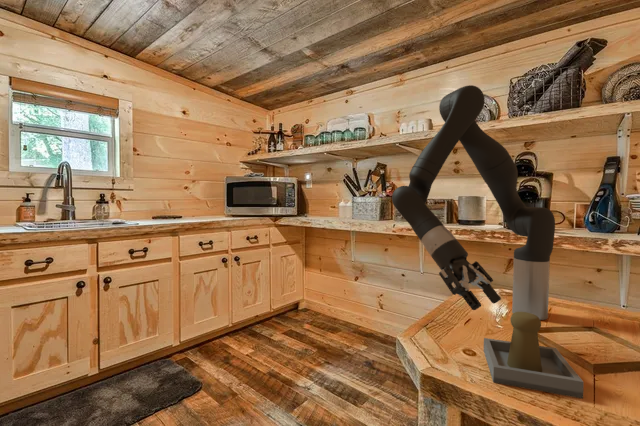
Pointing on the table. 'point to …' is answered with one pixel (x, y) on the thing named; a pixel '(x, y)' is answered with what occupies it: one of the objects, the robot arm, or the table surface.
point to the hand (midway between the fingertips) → (488, 304)
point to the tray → (551, 379)
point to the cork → (525, 342)
